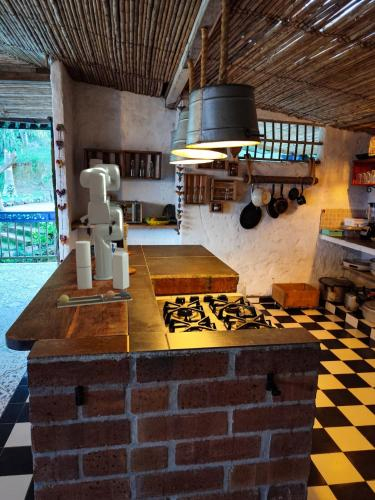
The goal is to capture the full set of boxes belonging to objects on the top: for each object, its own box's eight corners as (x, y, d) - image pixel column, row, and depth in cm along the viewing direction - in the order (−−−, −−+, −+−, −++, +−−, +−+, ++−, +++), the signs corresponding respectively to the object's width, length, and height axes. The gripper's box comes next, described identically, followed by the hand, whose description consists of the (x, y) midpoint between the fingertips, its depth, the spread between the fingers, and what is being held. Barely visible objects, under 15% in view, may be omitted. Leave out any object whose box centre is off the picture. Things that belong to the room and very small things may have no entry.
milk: (119, 287, 187) (118, 246, 183) (129, 288, 185) (128, 247, 181) (113, 290, 182) (111, 248, 178) (123, 291, 180) (122, 249, 176)
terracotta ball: (105, 298, 166) (105, 290, 165) (114, 297, 167) (113, 289, 166) (106, 300, 162) (106, 292, 161) (115, 299, 163) (114, 291, 163)
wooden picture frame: (57, 301, 160) (57, 299, 160) (101, 297, 166) (101, 295, 166) (57, 306, 154) (57, 303, 154) (103, 301, 161) (103, 299, 160)
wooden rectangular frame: (103, 297, 167) (103, 295, 166) (129, 295, 171) (129, 292, 170) (104, 301, 161) (104, 299, 161) (131, 299, 165) (131, 296, 164)
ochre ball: (59, 302, 159) (59, 294, 159) (69, 301, 161) (68, 293, 160) (59, 305, 156) (59, 296, 155) (69, 304, 157) (68, 295, 156)
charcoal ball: (118, 296, 168) (118, 288, 167) (127, 296, 169) (127, 288, 168) (120, 299, 164) (119, 291, 163) (128, 298, 165) (128, 290, 165)
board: (57, 301, 164) (57, 298, 164) (128, 294, 175) (128, 291, 175) (57, 310, 153) (57, 306, 153) (132, 302, 164) (132, 298, 163)
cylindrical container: (77, 291, 179) (74, 243, 174) (78, 287, 186) (75, 241, 181) (92, 290, 181) (89, 242, 176) (92, 286, 188) (89, 240, 183)
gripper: (115, 198, 172) (116, 232, 175) (78, 199, 166) (80, 234, 170) (118, 199, 165) (119, 235, 169) (79, 200, 159) (81, 237, 163)
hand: (99, 235), depth 169 cm, fingers open, 9 cm apart
